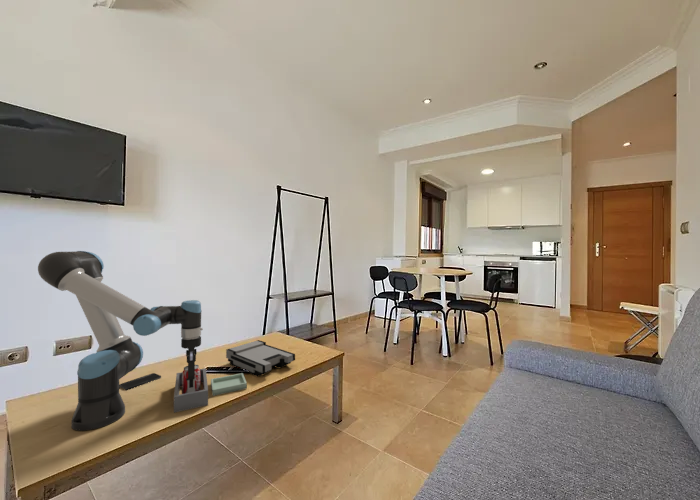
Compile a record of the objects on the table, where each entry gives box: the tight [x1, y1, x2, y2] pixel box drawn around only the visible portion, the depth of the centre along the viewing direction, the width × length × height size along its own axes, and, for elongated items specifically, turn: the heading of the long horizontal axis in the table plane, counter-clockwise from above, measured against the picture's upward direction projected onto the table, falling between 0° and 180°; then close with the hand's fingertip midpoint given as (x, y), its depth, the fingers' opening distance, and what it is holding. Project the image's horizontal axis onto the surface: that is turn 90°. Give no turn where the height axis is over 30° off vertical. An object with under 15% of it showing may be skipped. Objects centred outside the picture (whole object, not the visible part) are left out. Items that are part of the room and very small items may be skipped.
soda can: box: [181, 364, 201, 394], centre depth 127 cm, size 7×7×12 cm
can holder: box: [173, 367, 209, 414], centre depth 127 cm, size 24×12×6 cm, turn 28°
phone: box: [119, 372, 162, 391], centre depth 139 cm, size 8×1×15 cm
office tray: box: [225, 339, 296, 378], centre depth 160 cm, size 21×32×8 cm, turn 53°
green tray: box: [210, 372, 248, 397], centre depth 135 cm, size 14×12×2 cm
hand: (191, 390), depth 127 cm, fingers closed on soda can, 7 cm apart
